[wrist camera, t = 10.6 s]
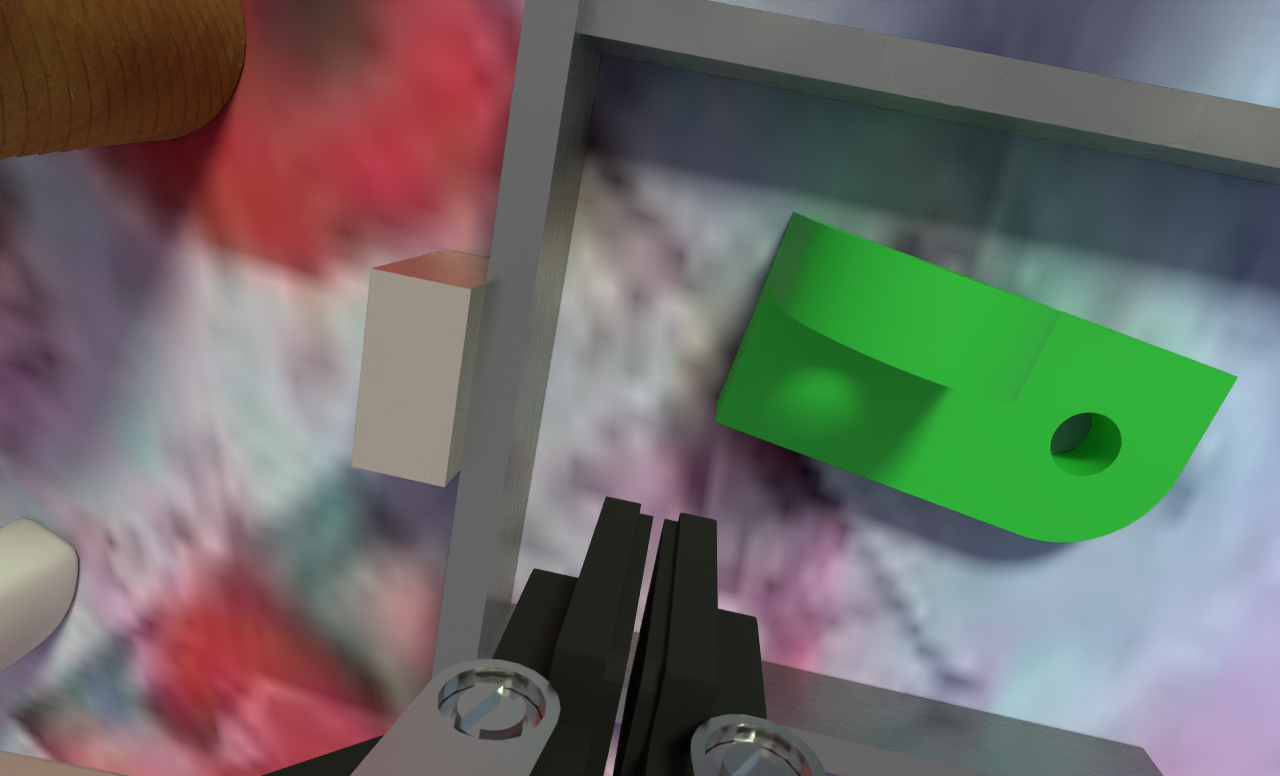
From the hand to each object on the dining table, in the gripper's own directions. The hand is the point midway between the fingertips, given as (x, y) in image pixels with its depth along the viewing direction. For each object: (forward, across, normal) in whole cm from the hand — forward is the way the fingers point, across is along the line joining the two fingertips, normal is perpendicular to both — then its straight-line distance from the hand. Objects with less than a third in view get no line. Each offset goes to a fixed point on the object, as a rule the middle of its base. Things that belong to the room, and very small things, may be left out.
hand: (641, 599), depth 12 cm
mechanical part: (+13, -8, -2) cm, 15 cm away
